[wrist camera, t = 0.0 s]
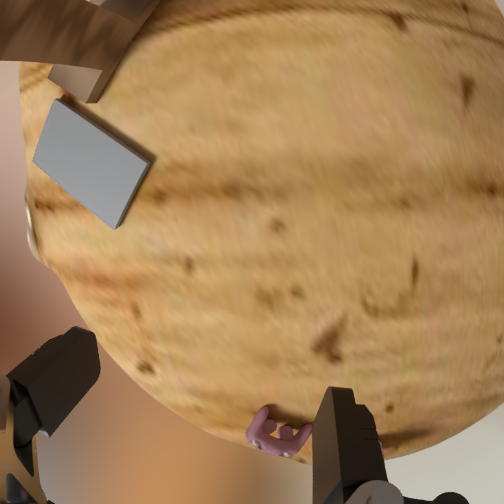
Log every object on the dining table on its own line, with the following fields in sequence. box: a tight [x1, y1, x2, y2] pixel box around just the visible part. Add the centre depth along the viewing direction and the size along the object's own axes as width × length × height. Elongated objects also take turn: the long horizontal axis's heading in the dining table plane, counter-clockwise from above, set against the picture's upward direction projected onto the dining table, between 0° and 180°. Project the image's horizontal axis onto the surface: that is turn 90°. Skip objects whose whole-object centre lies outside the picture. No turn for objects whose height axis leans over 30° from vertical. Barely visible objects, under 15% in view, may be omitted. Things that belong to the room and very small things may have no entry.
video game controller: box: [245, 406, 312, 457], centre depth 41 cm, size 10×5×7 cm, turn 60°
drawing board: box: [32, 99, 152, 230], centre depth 29 cm, size 9×16×1 cm, turn 54°
